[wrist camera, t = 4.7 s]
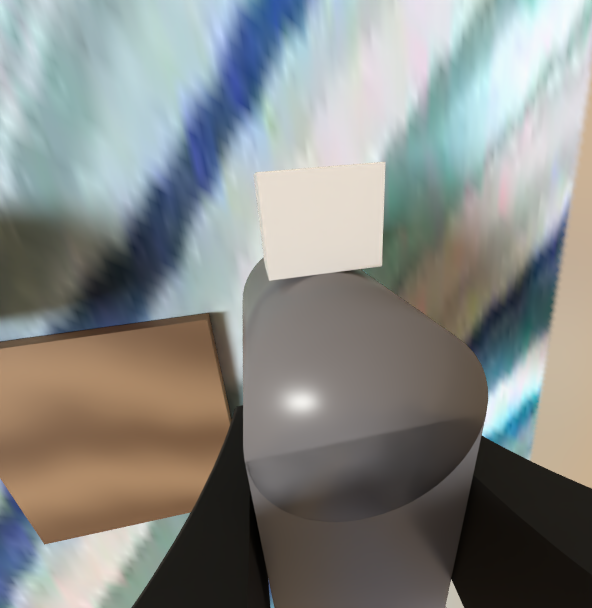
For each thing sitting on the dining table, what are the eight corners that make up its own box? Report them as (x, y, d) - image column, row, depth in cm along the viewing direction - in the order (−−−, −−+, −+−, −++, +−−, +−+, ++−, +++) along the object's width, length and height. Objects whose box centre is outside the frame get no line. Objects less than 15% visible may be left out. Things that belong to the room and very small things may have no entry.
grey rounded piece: (357, 472, 14) (433, 661, 8) (272, 491, 13) (294, 704, 8) (357, 168, 9) (543, 141, 3) (222, 180, 8) (185, 169, 3)
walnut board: (246, 488, 20) (246, 500, 19) (52, 530, 18) (44, 544, 18) (208, 312, 15) (207, 319, 14) (-62, 350, 13) (-79, 360, 13)
